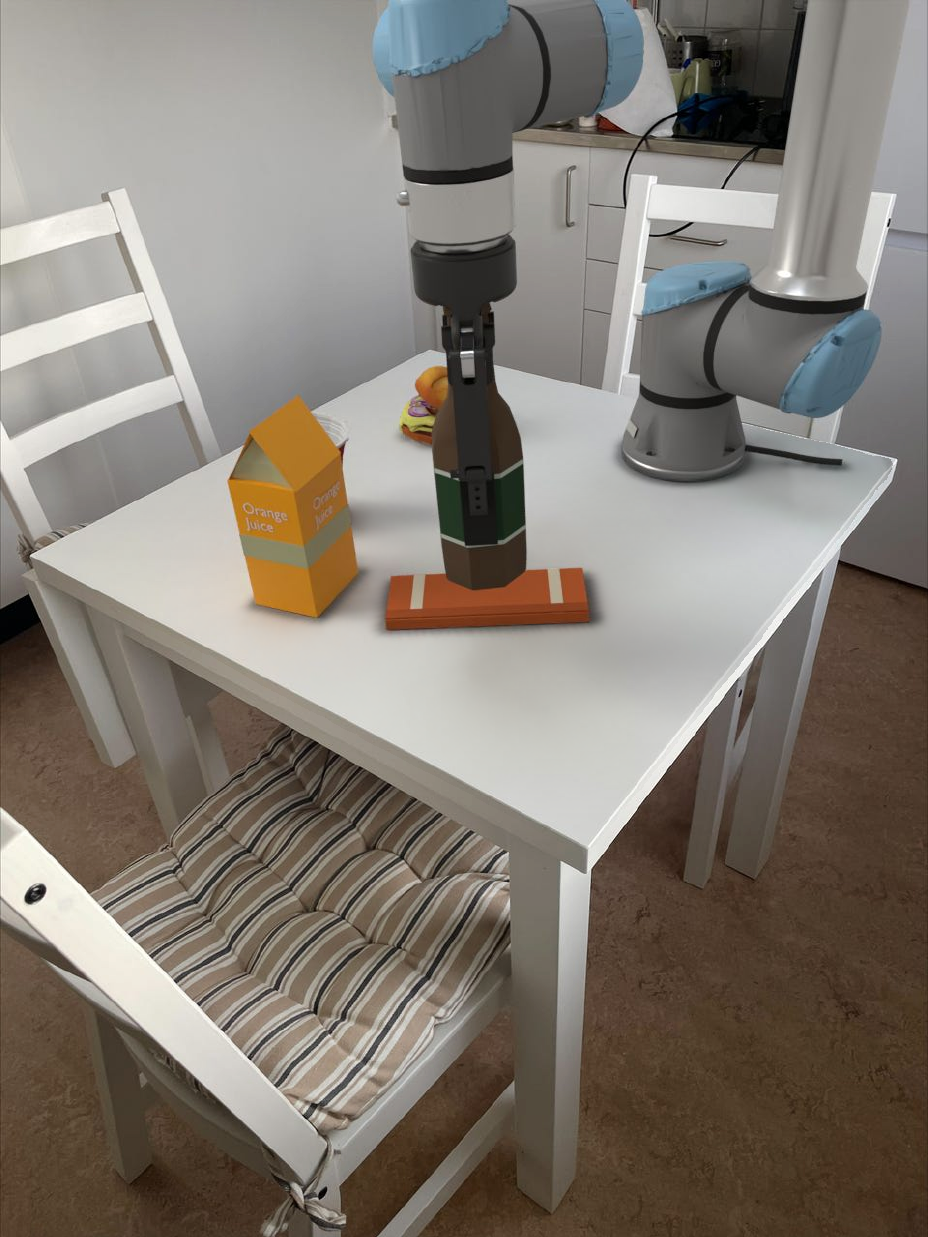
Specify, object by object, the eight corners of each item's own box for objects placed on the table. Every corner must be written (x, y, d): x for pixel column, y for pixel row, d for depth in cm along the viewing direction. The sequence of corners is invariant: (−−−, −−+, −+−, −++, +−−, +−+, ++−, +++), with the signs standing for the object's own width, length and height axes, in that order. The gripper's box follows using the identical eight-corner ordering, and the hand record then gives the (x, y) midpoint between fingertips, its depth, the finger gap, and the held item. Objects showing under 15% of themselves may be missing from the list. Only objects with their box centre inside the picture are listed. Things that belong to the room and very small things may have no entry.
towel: (581, 576, 99) (582, 565, 98) (588, 622, 93) (589, 610, 92) (392, 584, 100) (391, 573, 99) (386, 630, 94) (384, 618, 93)
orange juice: (254, 604, 99) (212, 426, 87) (299, 560, 105) (266, 390, 94) (318, 618, 96) (284, 437, 84) (360, 573, 102) (334, 398, 91)
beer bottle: (466, 603, 79) (442, 320, 65) (426, 561, 85) (396, 292, 71) (545, 574, 82) (539, 296, 68) (501, 535, 88) (487, 271, 74)
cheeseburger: (404, 416, 135) (415, 349, 129) (477, 433, 135) (491, 367, 129) (390, 446, 127) (401, 377, 121) (468, 465, 127) (483, 396, 121)
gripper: (417, 206, 75) (441, 464, 89) (399, 285, 59) (432, 587, 73) (511, 199, 75) (521, 459, 89) (520, 277, 59) (530, 582, 72)
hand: (481, 516), depth 81 cm, fingers closed on beer bottle, 7 cm apart
